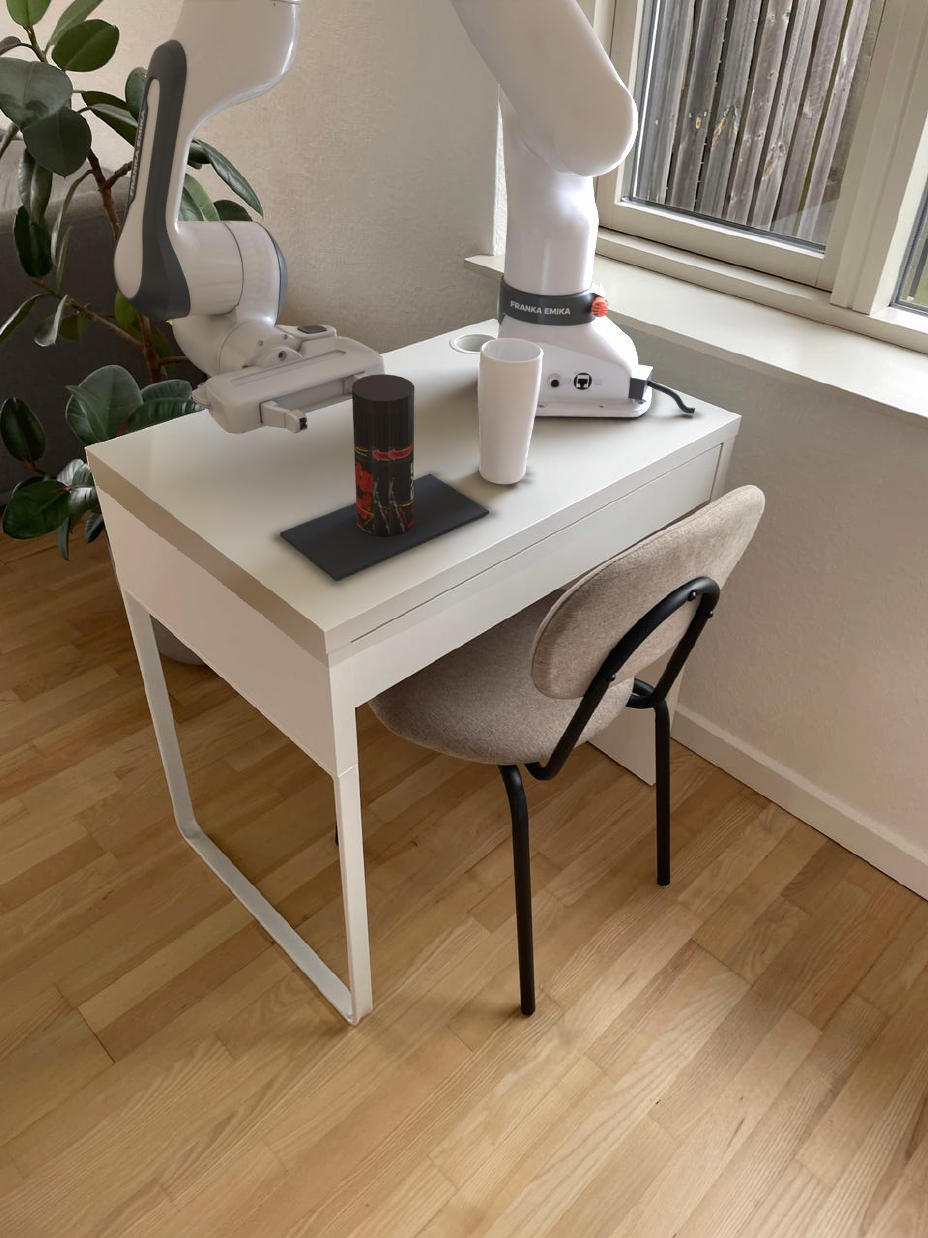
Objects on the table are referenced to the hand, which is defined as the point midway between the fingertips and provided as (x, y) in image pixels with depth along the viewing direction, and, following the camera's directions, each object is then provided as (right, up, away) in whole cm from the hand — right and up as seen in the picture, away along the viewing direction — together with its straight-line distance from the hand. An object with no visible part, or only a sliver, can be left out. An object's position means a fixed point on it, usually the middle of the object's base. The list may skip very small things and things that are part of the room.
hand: (339, 412), depth 96 cm
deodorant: (+5, -11, +1) cm, 12 cm away
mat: (+5, -11, +2) cm, 13 cm away
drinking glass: (+17, -5, +11) cm, 21 cm away
